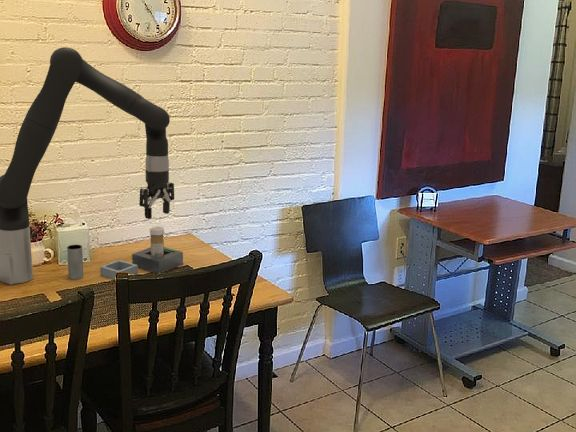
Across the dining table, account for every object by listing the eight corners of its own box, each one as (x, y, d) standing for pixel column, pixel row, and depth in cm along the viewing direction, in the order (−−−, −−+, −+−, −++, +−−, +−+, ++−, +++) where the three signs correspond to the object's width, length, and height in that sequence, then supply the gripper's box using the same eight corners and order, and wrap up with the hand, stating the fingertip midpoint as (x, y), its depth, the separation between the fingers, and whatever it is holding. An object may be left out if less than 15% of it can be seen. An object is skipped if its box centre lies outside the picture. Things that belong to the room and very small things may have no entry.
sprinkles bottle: (165, 263, 222) (164, 226, 218) (163, 268, 217) (162, 230, 214) (151, 263, 221) (151, 225, 218) (149, 267, 217) (148, 229, 213)
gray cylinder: (79, 273, 209) (77, 243, 206) (86, 277, 206) (84, 247, 203) (66, 276, 206) (64, 246, 203) (72, 280, 203) (71, 250, 200)
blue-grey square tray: (119, 281, 204) (118, 272, 204) (100, 275, 208) (100, 266, 208) (137, 273, 211) (137, 265, 210) (119, 268, 215) (119, 259, 215)
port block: (159, 274, 212) (158, 260, 210) (132, 266, 217) (132, 253, 216) (182, 264, 222) (183, 251, 220) (156, 257, 227) (156, 244, 226)
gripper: (163, 163, 218) (163, 209, 222) (133, 169, 206) (133, 218, 211) (180, 167, 214) (180, 213, 219) (150, 173, 203) (150, 222, 207)
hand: (157, 215), depth 215 cm, fingers open, 8 cm apart
